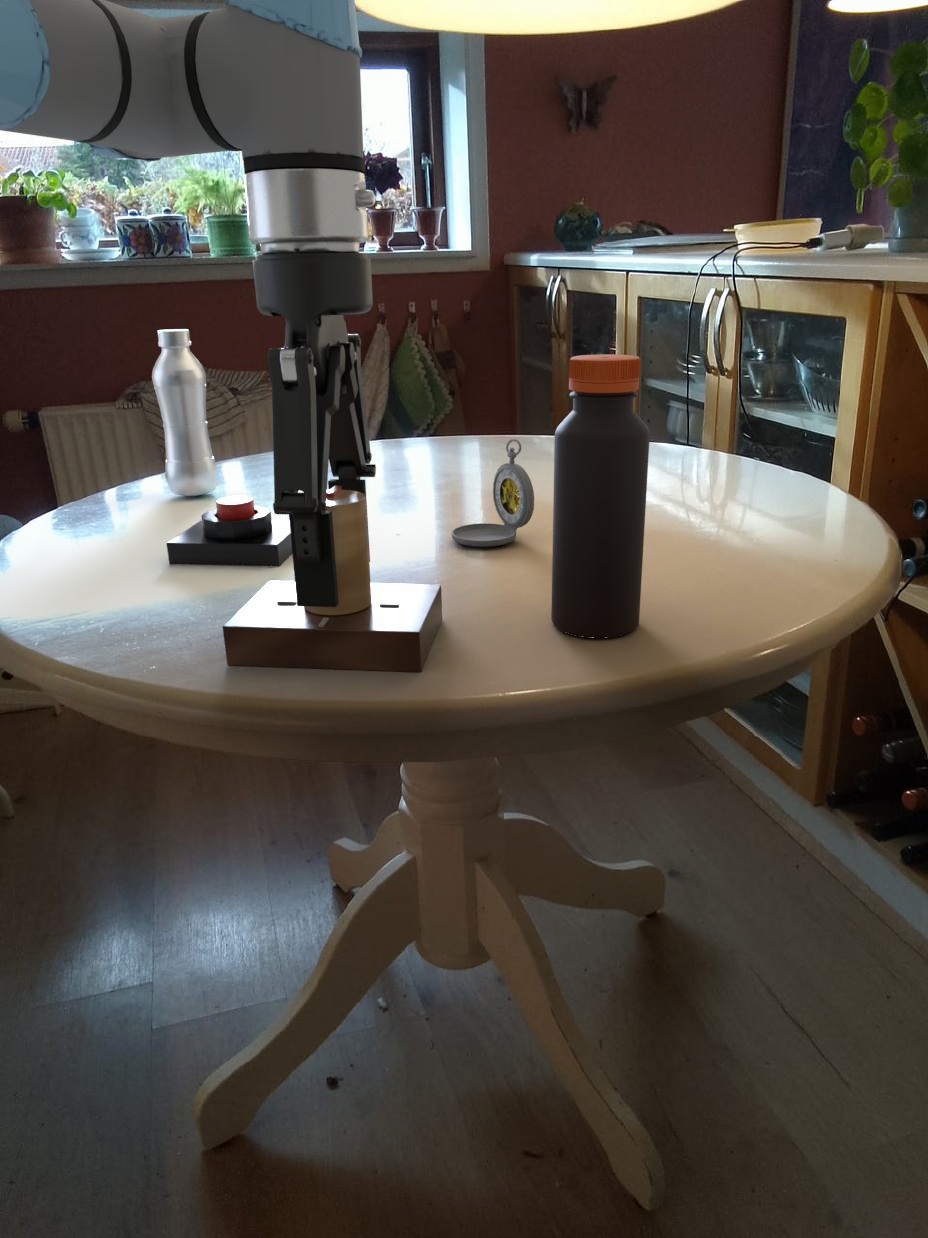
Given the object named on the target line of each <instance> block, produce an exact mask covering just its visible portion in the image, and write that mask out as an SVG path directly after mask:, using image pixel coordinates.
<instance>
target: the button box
mask: <svg viewBox="0 0 928 1238" xmlns="http://www.w3.org/2000/svg"><path fill="white" fill-rule="evenodd" d="M254 509H255V515H254V516H250V517H247V518H239V519H221V518H218V516H217V508H214V509H210V510H207V511H206V512H204V513H203V514H201V515H200V516H201V520H200V521H198V522H197V523H195V524H193V525H192V526H190V527H188V528H187V529H185V530H184V531H182V532H180V534H178V535H176V536H175V537H173V538H172V539H171V540H168V541H167V542H166V549H167V557H168V564H169V565H183V566H185V565H186V566H187V565H188V566H227V567H228V566H230V567H231V566H233V567H234V566H236V567H241V566H242V567H276V568H277V567H280V566H282V565H283V564H284V563H285V562H286V561H287V560H288V559H289V558H290V557H291V556H293V554H292V543H291V533H290V522H289V519H272V511H270V510H269V508H267V507H265V506H260V505H254Z"/></svg>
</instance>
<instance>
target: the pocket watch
mask: <svg viewBox="0 0 928 1238" xmlns="http://www.w3.org/2000/svg"><path fill="white" fill-rule="evenodd" d="M512 442H516V443H517V444H518V450H517V452H516V451H515V448H514V447H510V448H509V445H510V444H511V443H512ZM505 445H506V447H505V450H506V453H507V457H508V458H509V462H506V463H504V464H501V465H500V466H499V468H497V470H496V472H495V475H494V478H493V482H492V497H493V503H494V507H495V510H496V513H497V514H498V517H499V518H500V520H501V521H502V523H503V524H501V523H490V522H488V523H487V522H483V523H482V522H480V523H479V522H478V523H471V524H470V523H469V524H464V525H460V526H457V527H455V528H453V529H452V531H451V538H452V540H453V541H454V542H456V544H461V545H463V546H467V547H475V548H476V547H477V548H488V547H492V548H493V547H499V546H503V545H507V544H509V543H511V542H513V541H515V539H516V538H517V530H518V529H520V528H522V527H524V526H526V525H527V524H528V523H529V522H530V521H531V518H532V517H533V514H534V510H535V493H534V487H533V483H532V480H531V478H530V476H529V474H528V472H527V471H526V470H525V468H524V467H522V466H521V465H520V464H517V463H516V461H515V458H516V457H517V456H519V454H520V453H521V451H522V444H521V442H520V440H518V439H516V438H511V439H510V440H508V441H507V443H506V444H505Z"/></svg>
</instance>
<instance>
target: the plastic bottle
mask: <svg viewBox="0 0 928 1238" xmlns="http://www.w3.org/2000/svg"><path fill="white" fill-rule="evenodd" d="M157 337H158V342H157V343H158V344H157V345H158V347H159V348H161V353H160V354H159V356H158V358H157V359H156V361H155V363H154V365H153V368H152V373H151V380H152V385H153V388H154V392H155V396H156V399H157V404H158V406H159V410H160V416H161V420H162V422H163V423H162V426H163V432H164V445H165V446H164V447H165V463H164V477H165V481H166V484H167V487H168V489H169V490H170V491H171V492H172V494H174V495H177V496H184V497H198V496H202V495H206V494H209V493H213V492H214V491H215V490H216V488H217V486H218V485H219V484H218V483H219V470H218V466H217V462H216V459H215V457H214V456H213V455H214V454H213V449H212V445H211V439H210V434H209V430H208V429H209V428H208V421H207V418H208V417H207V415H208V414H207V373H206V371H205V368H204V366H203V365H202V364H201V362H200V361H199V359H198V358H197V357H196V355H194V354H193V352H192V351H191V349H190V346H192V341H191V335H190V331H189V329H187V328H173V329H172V328H170V329H159V330H157Z"/></svg>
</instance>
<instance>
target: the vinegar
mask: <svg viewBox="0 0 928 1238" xmlns="http://www.w3.org/2000/svg"><path fill="white" fill-rule="evenodd" d="M641 361H642V358H641V357H640V356H637V355H630V354H615V353H614V354H611V353H609V354H607V353H606V354H605V353H604V354H603V353H601V354H600V353H599V354H581V355H574V356H571V357H570V358H569V365H568V366H569V367H568V368H569V369H568V370H569V371H568V372H569V373H568V390H570V393H569V397H570V398H572V410H571V411H570V412H569V414H568V415H567V416H566V417H565V418H564V419H563V420H562V421H561V422H560V424H558V426H557V427H556V429H555V432H554V450H553V452H554V453H553V455H554V456H553V457H554V458H553V461H554V462H553V503H552V504H553V506H552V508H553V511H552V512H553V513H552V556H551V558H552V559H551V609H550V610H551V612H550V613H551V614H550V615H551V616H550V617H551V618H550V619H551V622H552V624H553V625H554V627H555V628H556V627H557V628H556V629H557V630H559V629H560V630H559V631H561V632H562V631H563V632H562V633H564V632H567V633H569V634H568V635H570V634H572V635H571V636H573V635H576V636H575V637H577V636H583V637H594V638H605V637H615V638H617V637H616V636H619V637H621V636H620V635H624V636H626V635H628V634H630V633H632V632H634V631H635V630H636V629H637V628H638V627H639V624H640V612H641V611H640V610H641V597H642V596H641V595H642V578H643V577H642V576H643V562H644V561H643V560H644V558H643V557H644V542H645V541H644V540H645V526H646V525H645V524H646V509H647V508H646V507H647V491H648V490H647V489H648V473H649V457H650V456H649V455H650V440H651V439H650V438H651V437H650V436H651V433H650V428H649V427H648V426H647V424H646V423H645V422H644V420H642V418H641V417H640V416H639V415H638V413H637V412H636V411H635V410H634V403H635V402H634V400H635V398H637V397H638V396H639V392H636V391H638V390H640V377H641ZM629 632H630V633H629ZM567 633H566V634H567ZM627 633H628V634H627ZM625 634H626V635H625ZM583 637H582V638H583ZM605 639H606V638H605Z"/></svg>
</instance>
